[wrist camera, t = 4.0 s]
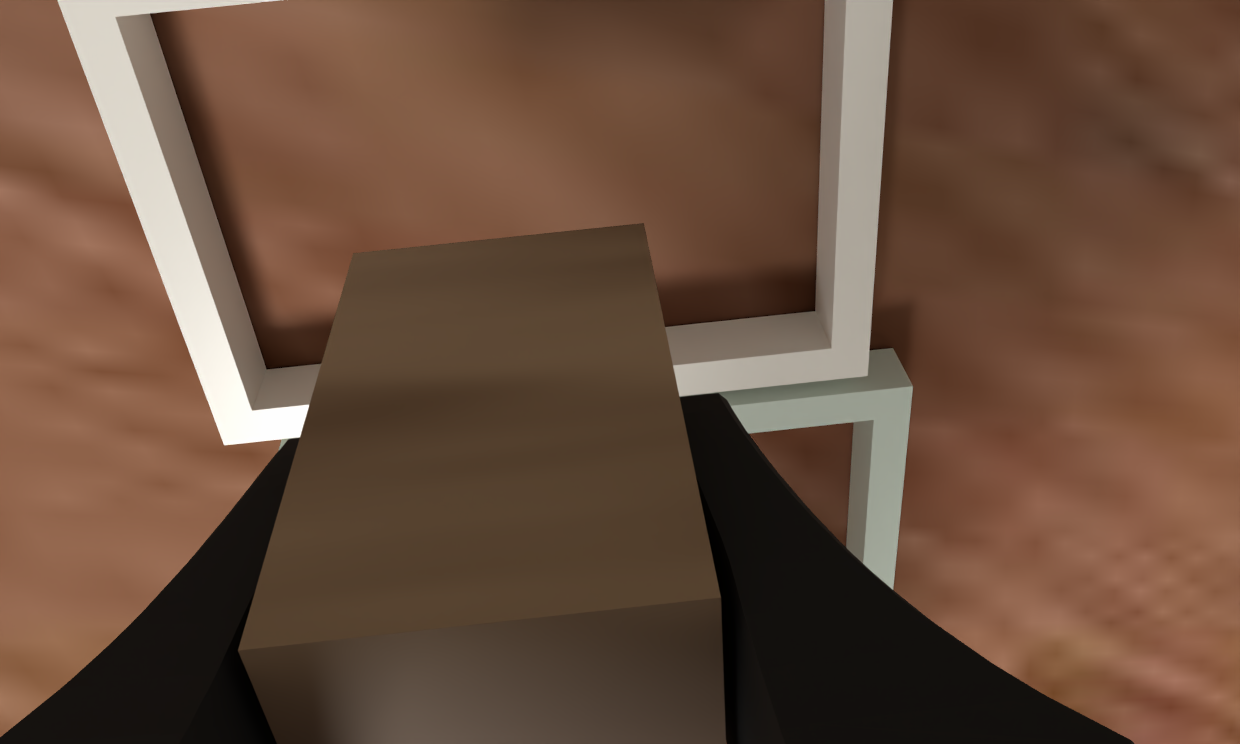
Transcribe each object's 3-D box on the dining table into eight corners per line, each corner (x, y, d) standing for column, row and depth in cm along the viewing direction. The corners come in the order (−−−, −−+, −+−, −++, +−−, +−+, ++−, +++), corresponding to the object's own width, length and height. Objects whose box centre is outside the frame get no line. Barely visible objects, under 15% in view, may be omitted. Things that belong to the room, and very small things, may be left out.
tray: (850, 337, 24) (867, 375, 22) (239, 403, 23) (224, 445, 22) (875, -132, 18) (900, -115, 17) (79, -52, 18) (46, -30, 17)
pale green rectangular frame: (869, 635, 29) (884, 679, 28) (379, 690, 29) (373, 737, 28) (892, 348, 24) (912, 386, 23) (290, 412, 24) (277, 455, 22)
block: (659, 449, 17) (730, 867, 11) (409, 477, 17) (346, 910, 11) (643, 223, 15) (721, 597, 9) (353, 253, 14) (238, 650, 9)
